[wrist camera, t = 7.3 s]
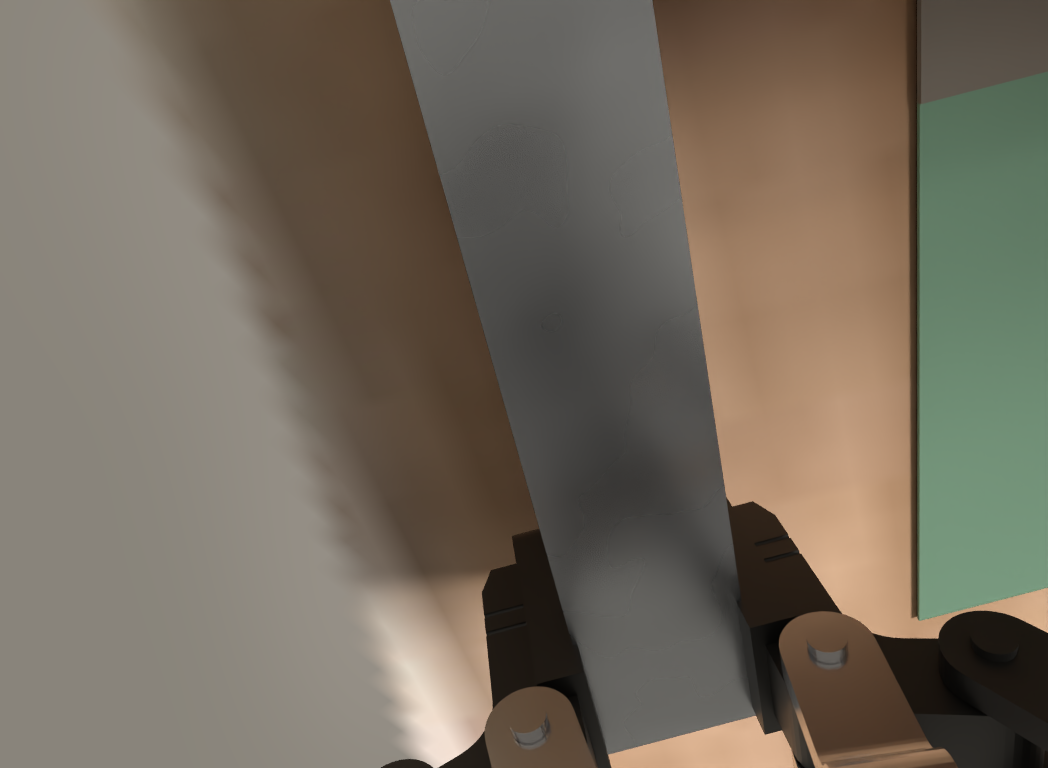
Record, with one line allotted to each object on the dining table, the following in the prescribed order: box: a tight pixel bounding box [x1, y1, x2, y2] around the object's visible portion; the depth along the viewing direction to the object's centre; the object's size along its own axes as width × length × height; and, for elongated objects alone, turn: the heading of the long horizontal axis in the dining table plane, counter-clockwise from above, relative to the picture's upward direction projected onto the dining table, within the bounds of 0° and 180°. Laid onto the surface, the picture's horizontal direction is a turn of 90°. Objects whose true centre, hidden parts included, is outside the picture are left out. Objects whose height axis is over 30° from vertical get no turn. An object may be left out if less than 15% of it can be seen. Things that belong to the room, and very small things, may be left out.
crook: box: [390, 0, 756, 754], centre depth 11 cm, size 16×8×4 cm, turn 13°
